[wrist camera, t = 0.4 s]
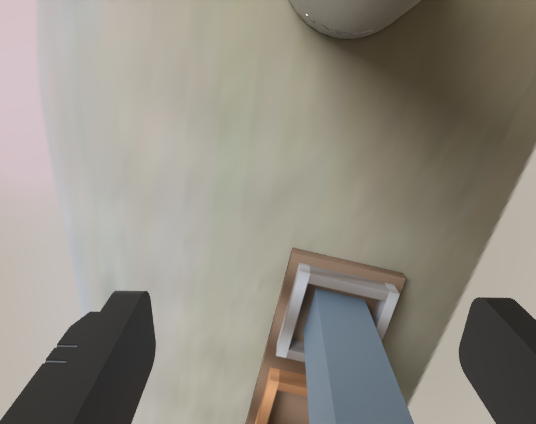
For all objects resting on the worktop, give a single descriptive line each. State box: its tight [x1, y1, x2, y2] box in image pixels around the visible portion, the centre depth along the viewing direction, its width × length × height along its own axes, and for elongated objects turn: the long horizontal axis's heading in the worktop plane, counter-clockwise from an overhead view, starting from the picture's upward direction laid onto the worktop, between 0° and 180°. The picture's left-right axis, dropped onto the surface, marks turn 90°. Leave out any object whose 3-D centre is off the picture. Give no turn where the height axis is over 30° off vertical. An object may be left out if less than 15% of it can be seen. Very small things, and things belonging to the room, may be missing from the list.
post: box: [303, 288, 414, 424], centre depth 23 cm, size 4×4×14 cm
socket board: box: [246, 248, 406, 424], centre depth 30 cm, size 19×9×2 cm, turn 167°
